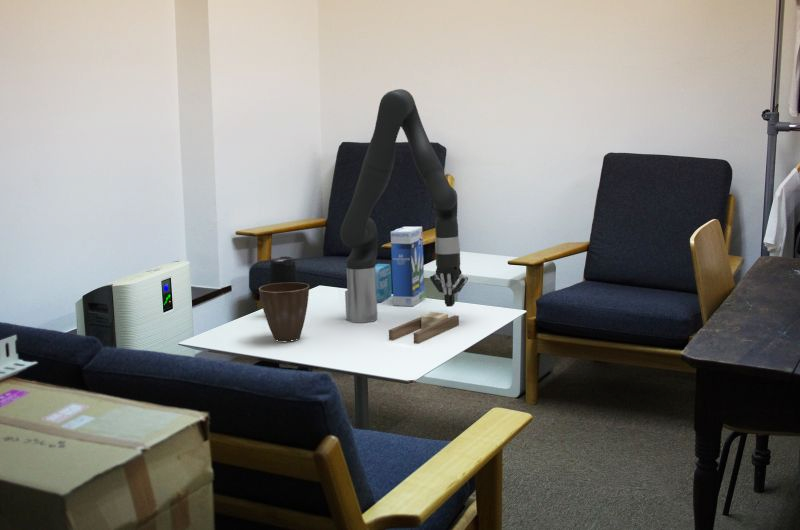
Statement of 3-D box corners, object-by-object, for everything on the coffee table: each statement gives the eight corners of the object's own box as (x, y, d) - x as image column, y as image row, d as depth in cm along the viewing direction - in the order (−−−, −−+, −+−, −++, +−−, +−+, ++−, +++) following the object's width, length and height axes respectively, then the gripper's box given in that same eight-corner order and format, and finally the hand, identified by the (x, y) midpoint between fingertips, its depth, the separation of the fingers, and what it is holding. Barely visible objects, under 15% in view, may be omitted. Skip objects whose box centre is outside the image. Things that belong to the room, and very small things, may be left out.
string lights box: (412, 306, 315) (410, 231, 310) (391, 306, 317) (389, 231, 313) (425, 298, 327) (423, 226, 322) (405, 297, 330) (402, 225, 325)
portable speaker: (301, 317, 305) (298, 259, 301) (272, 320, 302) (269, 261, 299) (297, 312, 313) (294, 255, 309) (269, 314, 310) (266, 257, 307)
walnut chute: (389, 342, 270) (388, 330, 270) (430, 324, 290) (430, 312, 289) (418, 345, 265) (418, 333, 264) (459, 327, 285) (458, 315, 284)
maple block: (421, 328, 281) (421, 316, 281) (431, 324, 286) (431, 311, 286) (438, 330, 278) (438, 318, 278) (448, 326, 283) (448, 313, 283)
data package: (379, 303, 322) (378, 269, 320) (367, 302, 324) (366, 269, 322) (392, 296, 333) (391, 263, 331) (380, 295, 335) (379, 262, 333)
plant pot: (256, 336, 282) (253, 285, 279) (303, 330, 288) (300, 280, 285) (269, 348, 268) (266, 294, 265) (318, 341, 274) (315, 288, 271)
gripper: (422, 252, 286) (425, 307, 289) (460, 253, 279) (462, 310, 282) (435, 248, 292) (437, 302, 295) (472, 250, 285) (474, 305, 288)
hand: (449, 306), depth 288 cm, fingers closed
